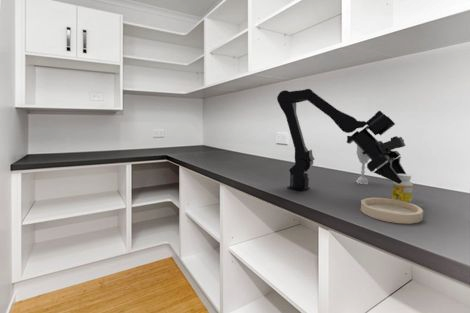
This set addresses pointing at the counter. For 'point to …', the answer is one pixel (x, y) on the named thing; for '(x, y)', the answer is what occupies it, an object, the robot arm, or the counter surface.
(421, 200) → the counter surface
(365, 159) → the chalice
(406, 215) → the round tray
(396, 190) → the supplement bottle
